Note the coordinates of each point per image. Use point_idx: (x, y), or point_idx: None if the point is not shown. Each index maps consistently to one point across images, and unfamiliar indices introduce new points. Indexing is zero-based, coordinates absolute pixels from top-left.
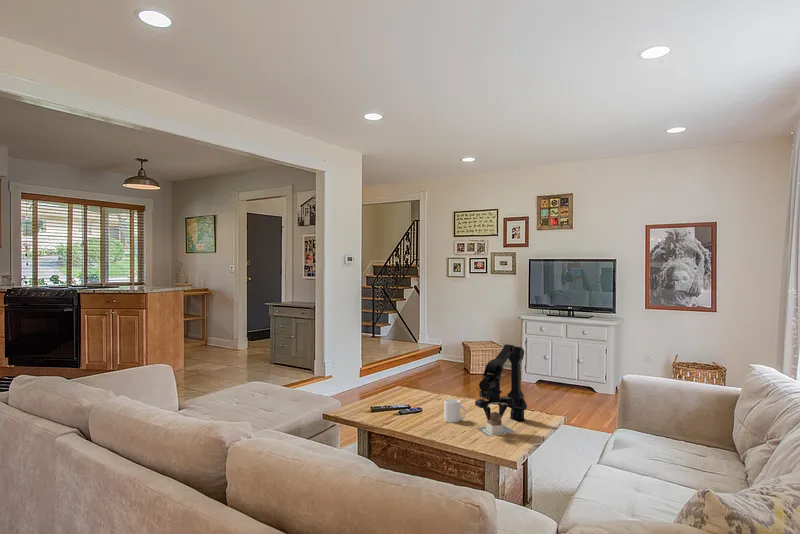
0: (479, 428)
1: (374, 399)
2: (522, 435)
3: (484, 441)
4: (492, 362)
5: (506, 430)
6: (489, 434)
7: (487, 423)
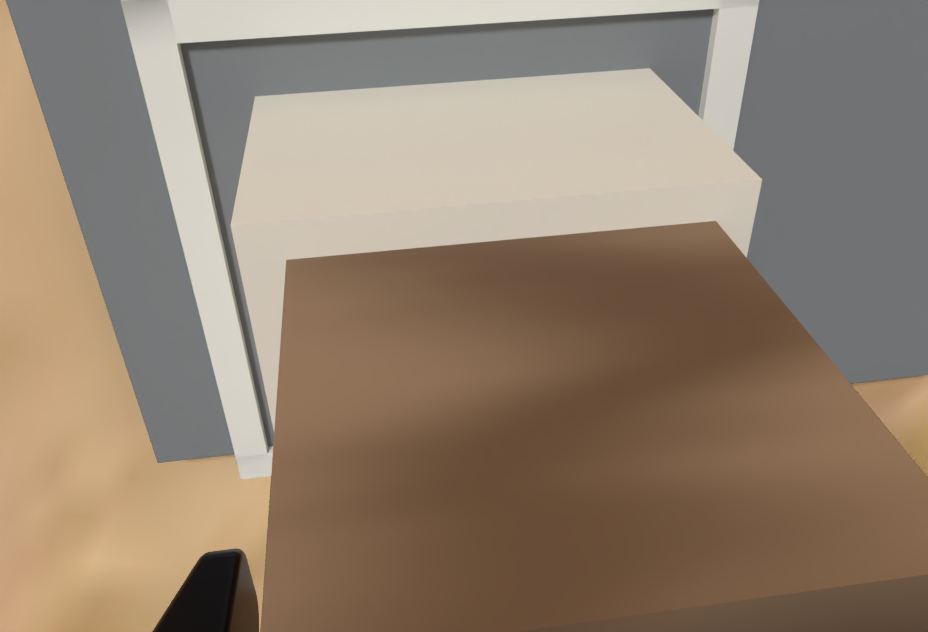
0: None
1: None
2: (922, 466)
3: (5, 603)
4: None
5: (834, 233)
6: (227, 417)
7: (260, 328)
